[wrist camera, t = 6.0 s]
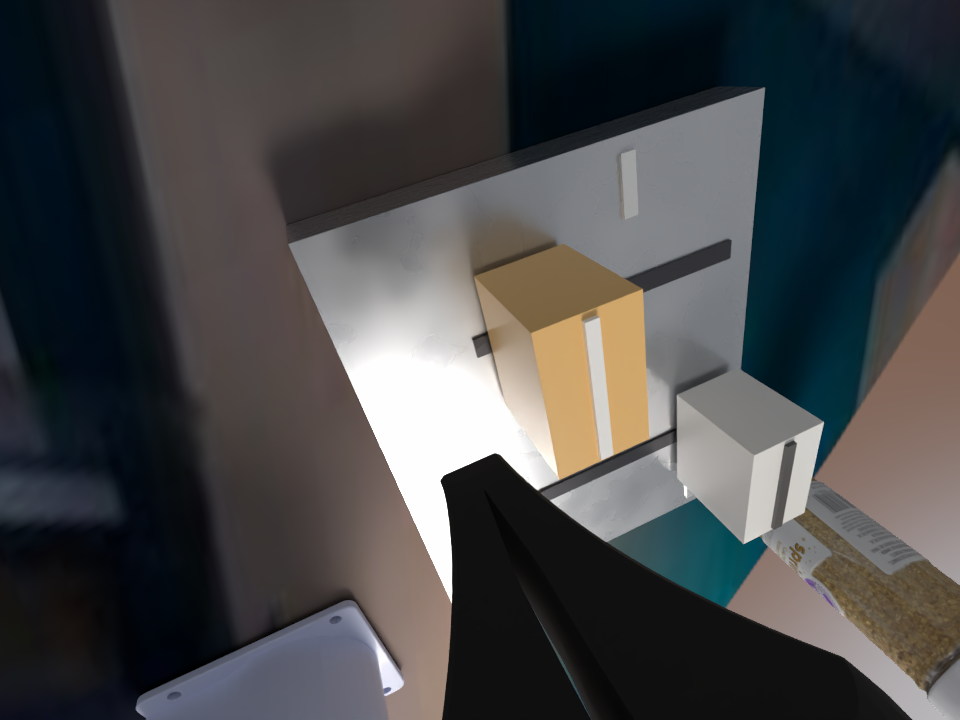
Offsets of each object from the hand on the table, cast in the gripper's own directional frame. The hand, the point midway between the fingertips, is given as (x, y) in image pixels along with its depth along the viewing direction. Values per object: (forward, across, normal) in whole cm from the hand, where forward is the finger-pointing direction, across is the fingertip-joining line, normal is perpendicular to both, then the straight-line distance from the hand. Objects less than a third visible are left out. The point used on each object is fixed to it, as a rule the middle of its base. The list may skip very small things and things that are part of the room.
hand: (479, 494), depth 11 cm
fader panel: (+8, -5, +4) cm, 10 cm away
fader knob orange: (+6, -4, 0) cm, 7 cm away
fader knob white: (+6, -11, +8) cm, 15 cm away
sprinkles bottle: (+8, -16, +16) cm, 24 cm away
